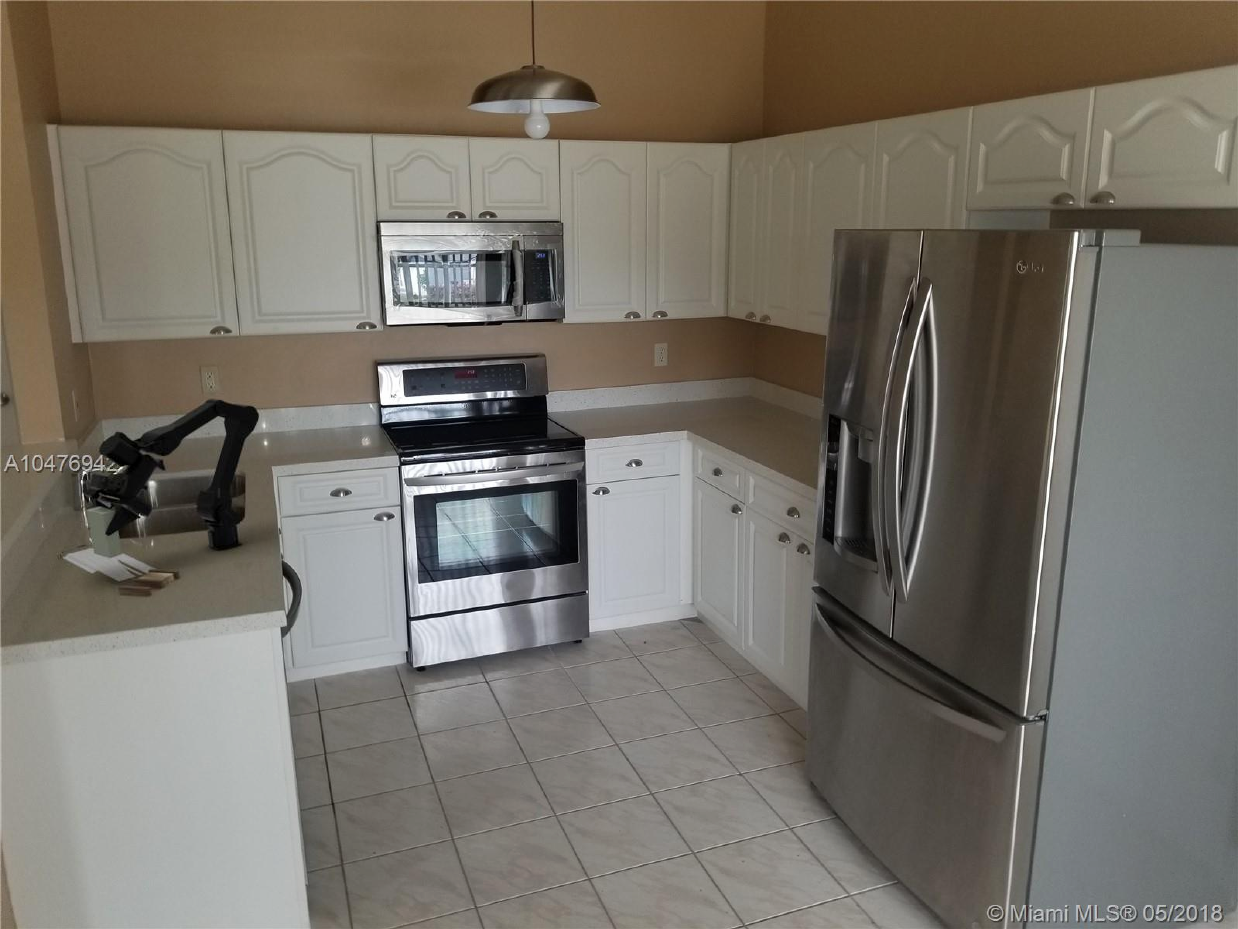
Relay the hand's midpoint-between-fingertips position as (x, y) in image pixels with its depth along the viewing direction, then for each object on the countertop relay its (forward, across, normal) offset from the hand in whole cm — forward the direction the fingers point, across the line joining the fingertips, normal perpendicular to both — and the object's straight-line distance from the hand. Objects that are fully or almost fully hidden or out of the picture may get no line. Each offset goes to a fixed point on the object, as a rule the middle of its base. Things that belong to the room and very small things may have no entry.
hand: (98, 532), depth 219 cm
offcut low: (+5, +10, +13) cm, 18 cm away
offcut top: (+4, +10, +13) cm, 17 cm away
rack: (+7, +11, +12) cm, 18 cm away
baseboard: (+5, -13, +15) cm, 21 cm away
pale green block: (+3, 0, +5) cm, 6 cm away
